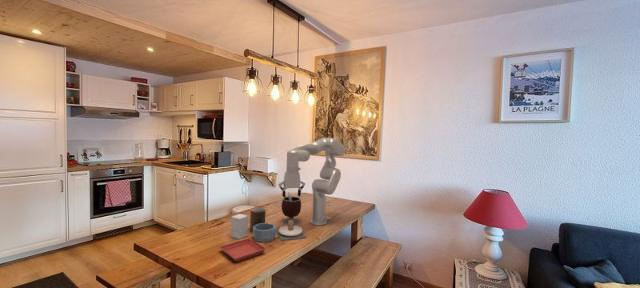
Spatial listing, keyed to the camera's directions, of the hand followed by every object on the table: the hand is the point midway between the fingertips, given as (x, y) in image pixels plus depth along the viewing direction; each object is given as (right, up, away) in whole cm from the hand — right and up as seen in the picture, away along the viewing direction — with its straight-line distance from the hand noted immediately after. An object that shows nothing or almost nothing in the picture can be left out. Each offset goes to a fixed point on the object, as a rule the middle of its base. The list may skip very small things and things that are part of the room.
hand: (291, 196), depth 170 cm
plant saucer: (-23, -25, -27) cm, 44 cm away
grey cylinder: (-23, -23, +6) cm, 33 cm away
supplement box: (-32, -24, -5) cm, 40 cm away
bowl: (-16, -24, -7) cm, 30 cm away
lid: (-1, -24, +1) cm, 24 cm away
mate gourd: (-3, -23, +24) cm, 33 cm away
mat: (-1, -24, +2) cm, 24 cm away
